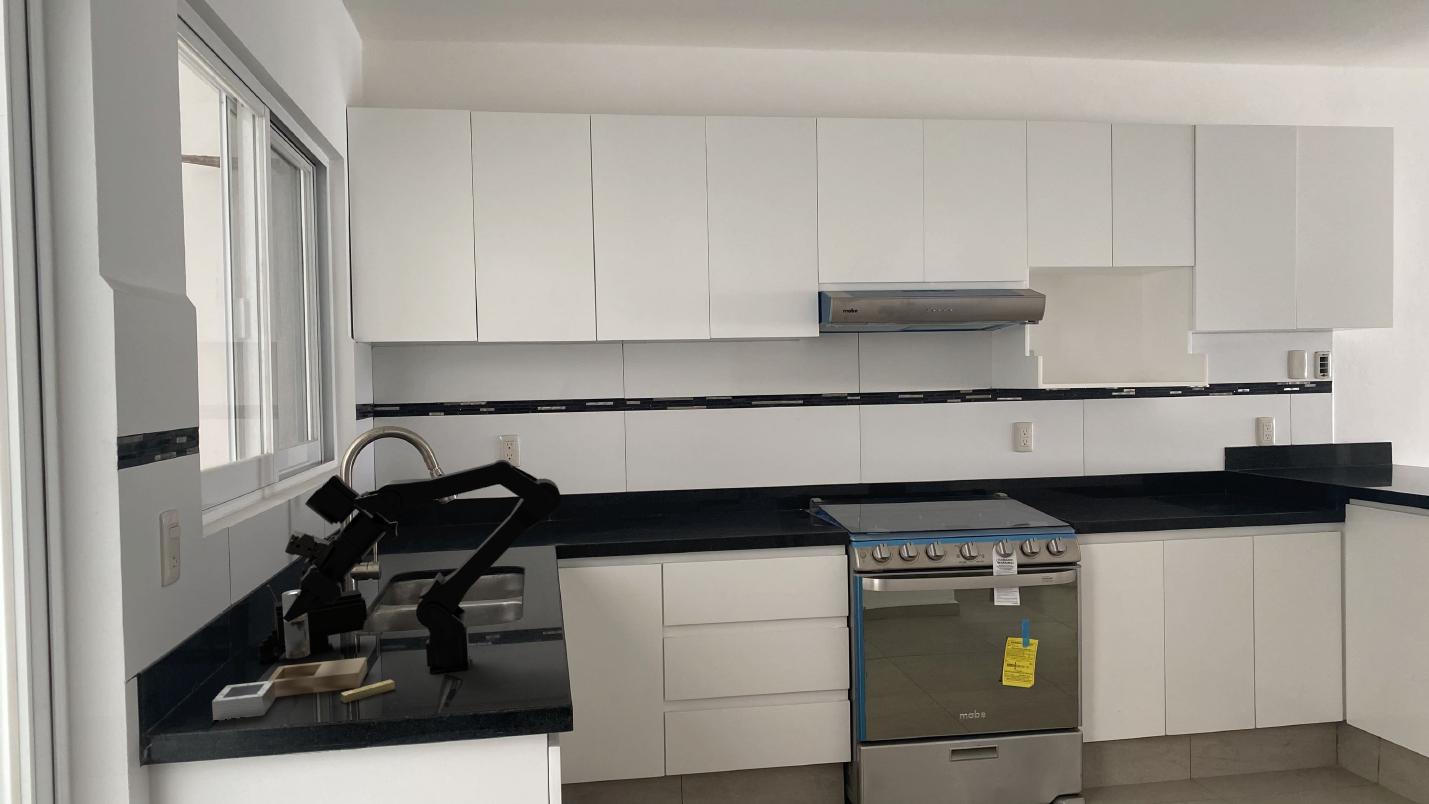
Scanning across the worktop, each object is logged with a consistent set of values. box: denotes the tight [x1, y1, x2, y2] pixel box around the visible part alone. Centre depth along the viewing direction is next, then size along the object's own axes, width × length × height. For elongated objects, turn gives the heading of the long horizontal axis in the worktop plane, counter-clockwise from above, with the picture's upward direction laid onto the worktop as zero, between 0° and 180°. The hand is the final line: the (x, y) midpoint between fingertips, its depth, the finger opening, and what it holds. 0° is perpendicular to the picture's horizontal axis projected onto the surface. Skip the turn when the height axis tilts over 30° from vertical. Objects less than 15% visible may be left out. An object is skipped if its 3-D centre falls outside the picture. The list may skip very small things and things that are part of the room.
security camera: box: [258, 589, 368, 663], centre depth 168 cm, size 7×18×10 cm, turn 121°
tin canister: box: [281, 589, 311, 660], centre depth 149 cm, size 4×4×10 cm
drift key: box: [340, 679, 396, 704], centre depth 144 cm, size 8×2×1 cm, turn 132°
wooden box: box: [267, 657, 368, 698], centre depth 150 cm, size 14×8×2 cm, turn 102°
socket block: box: [211, 680, 277, 722], centre depth 140 cm, size 7×7×3 cm
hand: (286, 617), depth 148 cm, fingers closed on tin canister, 4 cm apart
